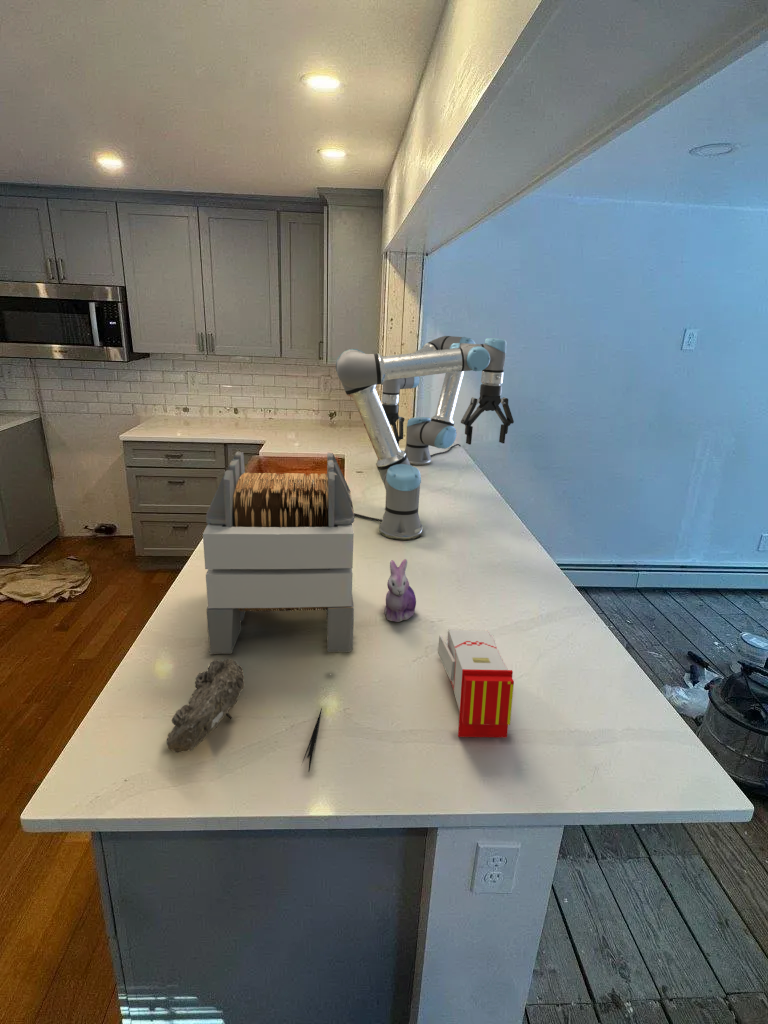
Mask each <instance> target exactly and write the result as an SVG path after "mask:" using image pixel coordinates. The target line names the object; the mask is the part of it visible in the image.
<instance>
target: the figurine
mask: <svg viewBox="0 0 768 1024" xmlns="http://www.w3.org/2000/svg"><path fill="white" fill-rule="evenodd" d="M407 567H408V559H406V558H404V559H403V560H402V561H401V563H400V565H399V566H398V565H397V563H396V562H395V561H394V560H393V559H391V560H390V561H389V570H390V576H389V578H388V579H387V589H388V591H387V592H386V594H385V595H386V596H385V607H384V615H385V616H386V620H387V621H391V622H395V623H400V622H402V621H406V620H409V619H410V618H411V617H413V616H414V615H415V610H416V606H417V597H416V593H415V591H414V590H413V587H411V586H410V582H409V579H408V577H407V574H406V571H407Z"/></svg>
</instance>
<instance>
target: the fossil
mask: <svg viewBox="0 0 768 1024" xmlns="http://www.w3.org/2000/svg"><path fill="white" fill-rule="evenodd" d="M243 670H244V669H243V667H242V665H240V664H237V662H236V661H235V660H234V659H232V658H231V659H227V658H226V659H224V660H223V661H222V660H217V659H212V660H211V661H210V663H209V665H208V666H207V671H201V672H199V673H198V674H197V675H196V676H195V680H194V684H195V685H194V687H195V689H194V690H193V693H192V694H191V697H190V698H189V700H188V704H184V705H182V706H181V707H180V709H177V710H176V711H175V713H174V715H173V716H172V718H171V723H172V724H173V727H172V730H171V731H170V732H168V734H167V738H166V741H167V742H166V745H167V749H168V750H169V751H173V752H174V753H176V754H178V753H182V752H188V751H189V752H192V751H193V750H195V748H196V747H197V746H199V744H200V743H201V742H203V741H204V740H205V739H206V738H207V737H208V736H209V735H210V734H211V733H212V732H214V730H215V729H217V727H218V726H219V724H220V722H221V721H222V720H223V719H224V718H225V716H226V717H227V719H229V720H233V717H232V715H230V714H229V710H230V709H231V708H234V706H235V704H236V703H237V702H238V699H239V697H240V695H241V693H242V691H243V690H245V689H244V688H245V675H244V671H243Z"/></svg>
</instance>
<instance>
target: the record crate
mask: <svg viewBox="0 0 768 1024" xmlns="http://www.w3.org/2000/svg"><path fill="white" fill-rule="evenodd" d="M244 455H245V454H244V451H242V452H241V451H236V452H235V454H234V456H233V458H232V459H230V463H229V465H228V467H227V469H226V470H224V473H223V475H222V478H221V479H220V482H219V484H218V487H217V489H216V491H215V494H214V495H213V497H212V500H211V502H210V505H209V507H208V509H207V511H206V515H205V523H206V524H207V525H206V527H205V529H204V531H203V533H202V543H203V558H204V569H205V570H206V573H205V584H206V587H205V588H206V598H207V599H206V601H207V607H206V623H207V634H208V641H209V642H208V643H209V650H208V653H209V655H216V654H217V655H218V654H221V655H222V654H223V655H226V654H227V655H228V654H230V655H231V654H232V653H233V650H234V648H235V647H236V643H237V641H238V638H239V636H240V634H241V630H242V626H241V625H242V623H241V622H243V621H244V618H245V615H246V612H272V611H273V612H279V611H280V612H284V611H286V612H288V611H289V612H291V611H292V612H293V611H294V612H295V611H303V612H304V611H322V610H323V611H326V636H327V637H326V641H327V645H326V646H327V652H329V653H330V652H332V653H333V652H343V653H349V652H351V651H352V650H354V617H355V616H354V614H355V607H354V598H353V575H354V573H353V566H354V563H353V562H354V537H355V536H354V535H355V532H354V527H353V524H354V522H355V516H354V513H355V511H354V506H353V505H354V504H353V500H352V495H351V489H350V487H349V485H348V483H347V480H346V479H345V476H344V474H343V472H342V470H341V467H340V465H339V463H338V461H337V459H336V457H335V455H334V453H333V452H327V453H326V456H327V457H326V468H327V469H326V473H320V474H318V473H307V474H306V473H303V472H302V473H299V472H298V473H297V472H294V473H293V472H292V473H291V472H290V473H288V472H283V473H276V472H273V473H271V472H263V473H262V472H259V473H258V472H253V473H252V472H245V468H246V467H245V456H244Z"/></svg>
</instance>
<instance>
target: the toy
mask: <svg viewBox="0 0 768 1024" xmlns="http://www.w3.org/2000/svg"><path fill="white" fill-rule="evenodd" d="M446 640H447V643H446V641H445V639H444V636H443V635H442V634H439V637H438V646H437V656H438V657H439V659H440V661H441V663H442V666H443V668H444V670H445V672H446V674H447V677H448V679H449V681H450V684H451V687H452V690H453V693H454V697H455V701H456V705H457V708H458V711H459V714H458V715H459V716H458V730H457V731H458V732H457V737H458V738H508V731H509V726H510V725H511V717H512V707H513V697H514V696H513V695H514V684H515V680H514V679H513V673H514V671H513V670H512V669H508V667H507V665H506V662H505V661H504V659H503V658H502V655H501V653H500V651H499V649H498V647H497V643H496V639H495V637H494V635H493V634H491V632H490V631H489V629H467V628H466V629H465V628H463V629H461V628H460V629H459V628H448V630H447V639H446Z"/></svg>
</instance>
